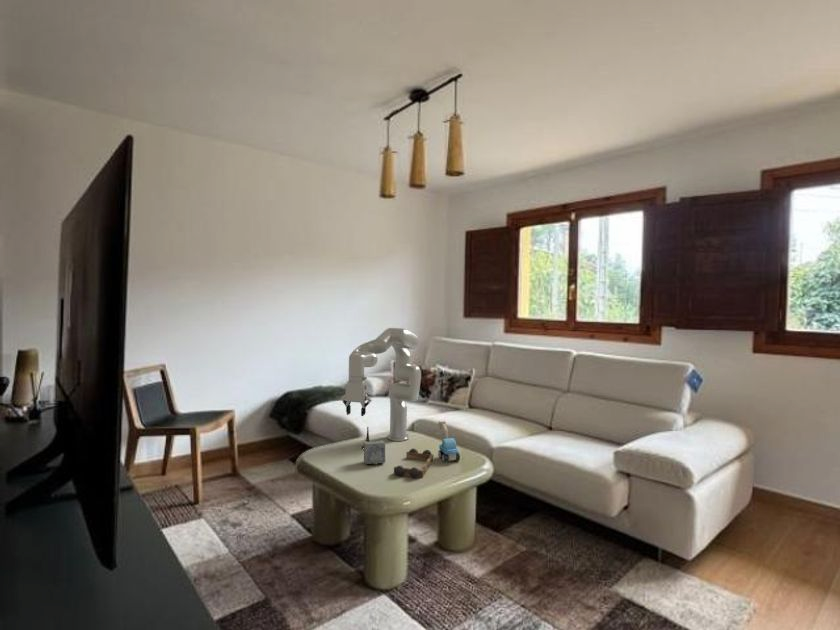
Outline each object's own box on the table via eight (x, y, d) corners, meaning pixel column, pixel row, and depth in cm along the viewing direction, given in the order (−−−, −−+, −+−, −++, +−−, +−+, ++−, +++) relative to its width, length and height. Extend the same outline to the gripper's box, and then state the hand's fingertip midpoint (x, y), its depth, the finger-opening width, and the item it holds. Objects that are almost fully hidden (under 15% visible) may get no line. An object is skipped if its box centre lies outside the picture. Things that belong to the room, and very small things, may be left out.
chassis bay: (407, 456, 232) (408, 447, 232) (434, 459, 229) (434, 450, 228) (392, 475, 207) (392, 466, 207) (421, 479, 204) (421, 469, 203)
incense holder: (382, 458, 228) (383, 438, 227) (385, 464, 220) (386, 443, 219) (363, 460, 225) (363, 439, 225) (365, 466, 217) (365, 444, 217)
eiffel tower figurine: (383, 446, 248) (383, 422, 247) (380, 453, 237) (381, 427, 237) (355, 445, 248) (355, 421, 248) (352, 452, 238) (352, 427, 237)
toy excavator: (448, 451, 241) (449, 419, 240) (461, 462, 225) (461, 428, 224) (433, 452, 238) (434, 420, 238) (444, 464, 222) (445, 429, 222)
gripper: (375, 378, 225) (375, 414, 226) (343, 376, 229) (342, 411, 230) (370, 381, 218) (369, 418, 218) (336, 379, 222) (336, 415, 223)
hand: (355, 414), depth 224 cm, fingers open, 6 cm apart
